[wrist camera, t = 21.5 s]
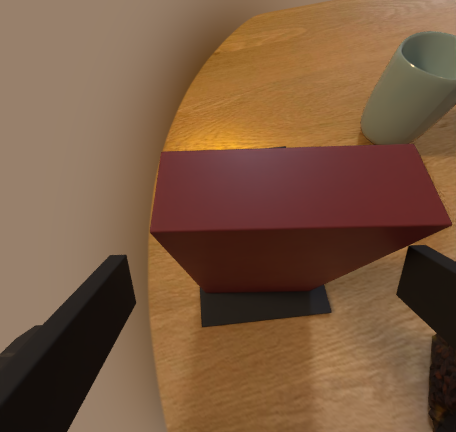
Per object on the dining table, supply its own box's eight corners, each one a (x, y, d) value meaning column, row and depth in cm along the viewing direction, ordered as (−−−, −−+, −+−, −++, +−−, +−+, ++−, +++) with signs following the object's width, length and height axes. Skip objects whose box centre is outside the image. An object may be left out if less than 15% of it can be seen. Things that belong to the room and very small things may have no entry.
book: (304, 255, 23) (414, 142, 9) (309, 291, 22) (454, 225, 7) (206, 257, 24) (160, 151, 9) (205, 293, 22) (148, 232, 8)
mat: (330, 312, 21) (331, 312, 21) (202, 327, 21) (201, 327, 21) (285, 147, 30) (285, 146, 30) (194, 157, 30) (193, 155, 29)
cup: (392, 167, 28) (467, 93, 19) (339, 133, 31) (383, 53, 22) (424, 135, 30) (505, 53, 21) (372, 105, 33) (424, 22, 24)
